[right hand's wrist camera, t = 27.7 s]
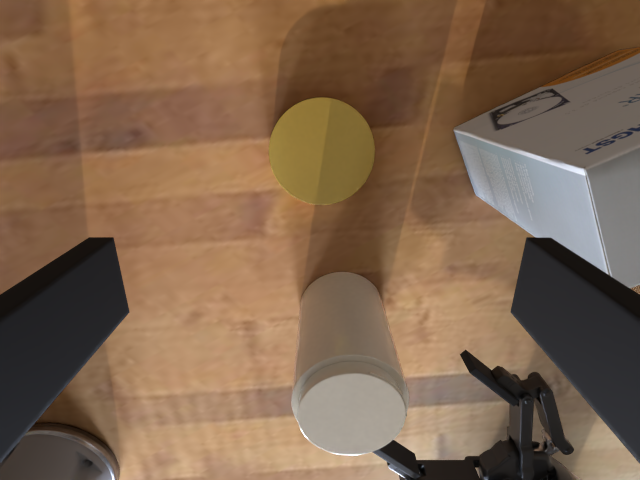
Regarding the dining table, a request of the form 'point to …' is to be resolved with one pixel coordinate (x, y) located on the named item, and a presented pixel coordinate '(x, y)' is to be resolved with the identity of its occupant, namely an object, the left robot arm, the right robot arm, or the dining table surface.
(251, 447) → the dining table surface
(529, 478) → the left robot arm
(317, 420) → the jar
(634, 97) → the hard drive box
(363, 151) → the lid
